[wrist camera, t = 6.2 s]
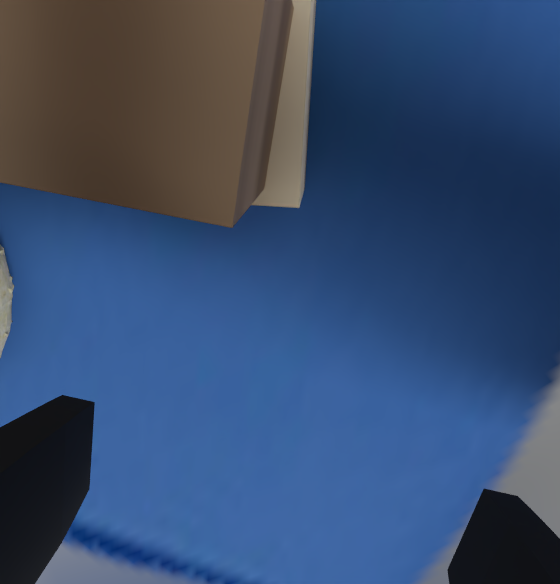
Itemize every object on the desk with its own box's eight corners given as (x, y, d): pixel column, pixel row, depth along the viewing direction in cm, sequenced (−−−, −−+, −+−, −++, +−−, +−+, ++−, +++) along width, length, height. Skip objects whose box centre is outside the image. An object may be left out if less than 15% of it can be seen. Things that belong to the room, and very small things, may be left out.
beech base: (316, -3, 15) (313, -43, 11) (304, 188, 17) (299, 207, 13) (133, -8, 15) (71, -49, 12) (143, 179, 17) (94, 195, 14)
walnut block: (293, 7, 12) (273, -66, 7) (264, 188, 13) (232, 227, 9) (116, -26, 12) (-20, -120, 7) (108, 158, 13) (-6, 180, 9)
